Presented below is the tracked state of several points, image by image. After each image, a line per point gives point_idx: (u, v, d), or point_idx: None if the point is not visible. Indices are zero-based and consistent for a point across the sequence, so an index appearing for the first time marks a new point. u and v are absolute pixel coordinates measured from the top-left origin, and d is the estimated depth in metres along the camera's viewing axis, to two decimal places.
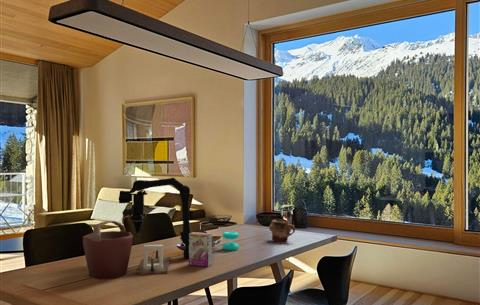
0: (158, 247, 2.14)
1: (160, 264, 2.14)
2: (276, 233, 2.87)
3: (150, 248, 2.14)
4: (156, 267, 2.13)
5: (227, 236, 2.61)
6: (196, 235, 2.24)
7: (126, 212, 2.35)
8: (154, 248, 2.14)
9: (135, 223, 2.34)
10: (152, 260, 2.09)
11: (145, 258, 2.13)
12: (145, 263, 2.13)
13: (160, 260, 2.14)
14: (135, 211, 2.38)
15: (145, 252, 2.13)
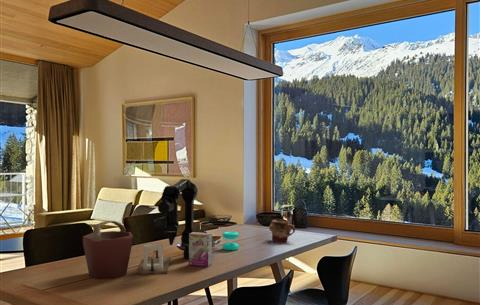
0: (158, 247, 2.14)
1: (160, 264, 2.14)
2: (276, 233, 2.87)
3: (150, 248, 2.14)
4: (156, 267, 2.13)
5: (227, 236, 2.61)
6: (196, 235, 2.24)
7: (159, 222, 2.12)
8: (154, 248, 2.14)
9: (169, 234, 2.10)
10: (152, 260, 2.09)
11: (145, 258, 2.13)
12: (145, 263, 2.13)
13: (160, 260, 2.14)
14: (168, 220, 2.14)
15: (145, 252, 2.13)
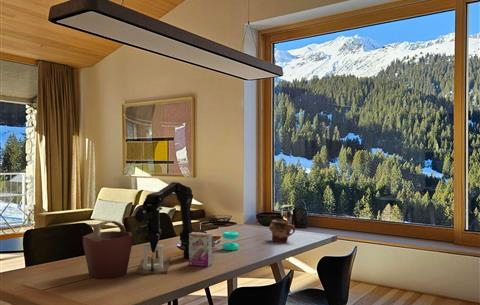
0: (158, 247, 2.14)
1: (160, 264, 2.14)
2: (276, 233, 2.87)
3: (150, 248, 2.14)
4: (156, 267, 2.13)
5: (227, 236, 2.61)
6: (196, 235, 2.24)
7: (140, 230, 2.10)
8: None
9: (151, 241, 2.12)
10: (152, 260, 2.09)
11: (145, 258, 2.13)
12: (145, 263, 2.13)
13: (160, 260, 2.14)
14: (150, 229, 2.13)
15: (145, 252, 2.13)
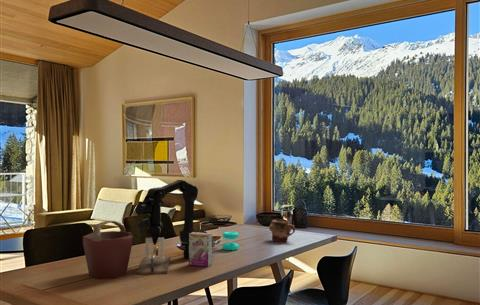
0: (159, 240, 2.22)
1: (161, 256, 2.22)
2: (276, 233, 2.87)
3: (152, 241, 2.21)
4: (158, 259, 2.21)
5: (227, 236, 2.61)
6: (196, 235, 2.24)
7: (142, 223, 2.18)
8: None
9: (152, 234, 2.20)
10: (152, 260, 2.09)
11: (147, 250, 2.21)
12: (147, 255, 2.21)
13: (161, 252, 2.22)
14: (151, 222, 2.20)
15: (147, 245, 2.21)
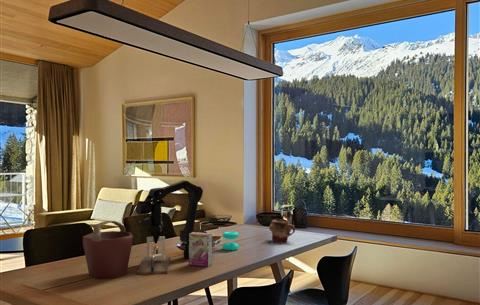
0: (160, 239, 2.27)
1: (162, 254, 2.27)
2: (276, 233, 2.87)
3: (153, 239, 2.27)
4: (158, 257, 2.26)
5: (227, 236, 2.61)
6: (196, 235, 2.24)
7: (143, 223, 2.24)
8: None
9: (153, 233, 2.25)
10: (152, 260, 2.09)
11: (148, 249, 2.27)
12: (148, 254, 2.27)
13: (162, 251, 2.27)
14: (152, 221, 2.26)
15: (148, 243, 2.27)
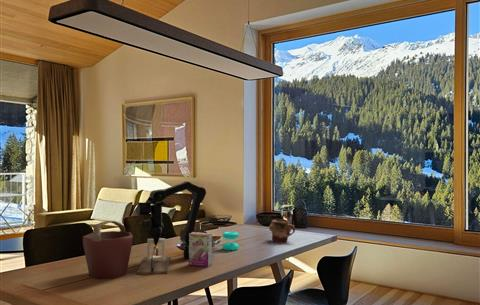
0: (160, 241, 2.31)
1: (162, 256, 2.31)
2: (276, 233, 2.87)
3: (153, 241, 2.31)
4: (159, 259, 2.30)
5: (227, 236, 2.61)
6: (196, 235, 2.24)
7: (144, 224, 2.27)
8: None
9: (153, 235, 2.27)
10: (152, 260, 2.09)
11: (148, 251, 2.30)
12: (148, 255, 2.30)
13: (162, 252, 2.31)
14: (153, 223, 2.30)
15: (148, 245, 2.30)
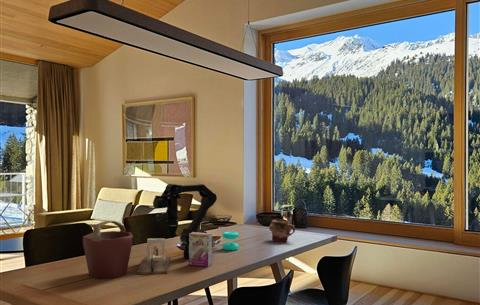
0: (160, 241, 2.31)
1: (162, 256, 2.31)
2: (276, 233, 2.87)
3: (153, 241, 2.31)
4: (159, 259, 2.30)
5: (227, 236, 2.61)
6: (196, 235, 2.24)
7: (161, 217, 2.31)
8: (157, 241, 2.31)
9: (170, 228, 2.29)
10: (152, 260, 2.09)
11: (148, 251, 2.30)
12: (148, 255, 2.30)
13: (162, 252, 2.31)
14: (169, 215, 2.33)
15: (148, 245, 2.30)
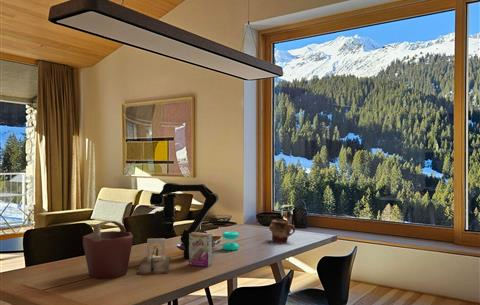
0: (160, 241, 2.31)
1: (162, 256, 2.31)
2: (276, 233, 2.87)
3: (153, 241, 2.31)
4: (159, 259, 2.30)
5: (227, 236, 2.61)
6: (196, 235, 2.24)
7: (157, 214, 2.40)
8: (157, 241, 2.31)
9: (166, 225, 2.39)
10: (152, 260, 2.09)
11: (148, 251, 2.30)
12: (148, 255, 2.30)
13: (162, 252, 2.31)
14: (166, 213, 2.42)
15: (148, 245, 2.30)
